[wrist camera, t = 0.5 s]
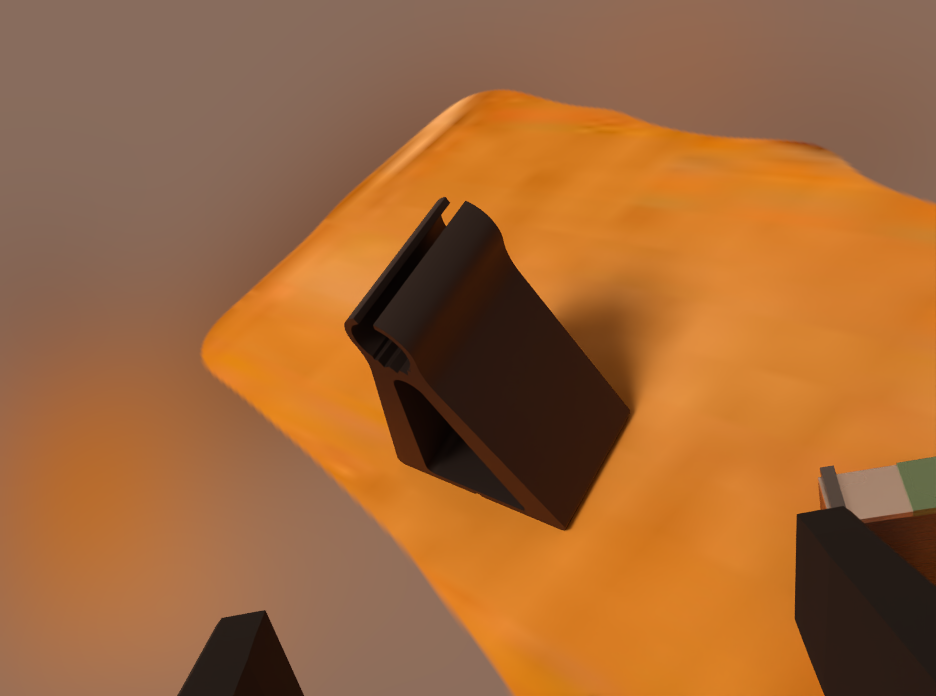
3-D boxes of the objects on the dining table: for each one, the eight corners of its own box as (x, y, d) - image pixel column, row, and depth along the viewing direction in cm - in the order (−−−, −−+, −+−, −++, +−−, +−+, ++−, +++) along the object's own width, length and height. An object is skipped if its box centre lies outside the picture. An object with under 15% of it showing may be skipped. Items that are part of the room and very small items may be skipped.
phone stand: (400, 462, 41) (272, 294, 32) (468, 363, 43) (366, 181, 34) (566, 533, 36) (468, 356, 27) (632, 416, 38) (562, 218, 29)
